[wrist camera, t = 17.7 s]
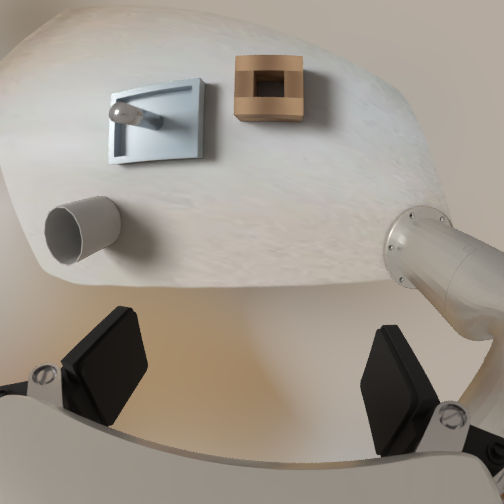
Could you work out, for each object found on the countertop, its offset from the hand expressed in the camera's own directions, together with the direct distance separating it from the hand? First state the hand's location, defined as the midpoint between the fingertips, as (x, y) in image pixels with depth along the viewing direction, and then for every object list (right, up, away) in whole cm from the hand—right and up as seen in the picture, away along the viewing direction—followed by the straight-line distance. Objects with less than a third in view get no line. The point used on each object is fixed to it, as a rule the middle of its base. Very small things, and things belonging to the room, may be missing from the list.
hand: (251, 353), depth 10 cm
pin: (-13, +22, +24) cm, 35 cm away
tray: (-13, +22, +25) cm, 36 cm away
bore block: (+3, +25, +22) cm, 33 cm away
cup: (-25, +9, +30) cm, 40 cm away
